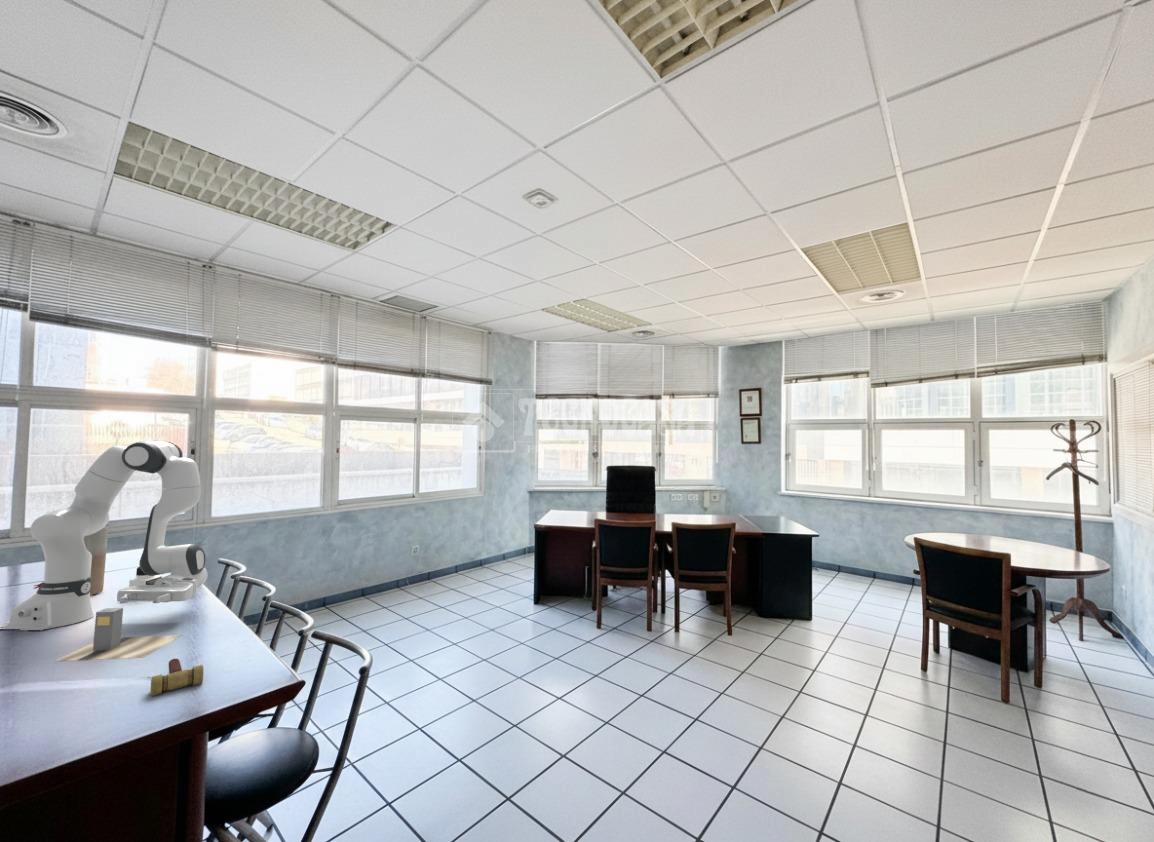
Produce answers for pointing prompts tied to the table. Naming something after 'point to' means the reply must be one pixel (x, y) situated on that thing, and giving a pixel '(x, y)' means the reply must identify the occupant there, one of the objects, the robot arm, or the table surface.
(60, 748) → the table surface
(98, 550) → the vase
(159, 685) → the gavel
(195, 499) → the robot arm
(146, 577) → the medicine bottle
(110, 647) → the tall grey pillar
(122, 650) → the board
